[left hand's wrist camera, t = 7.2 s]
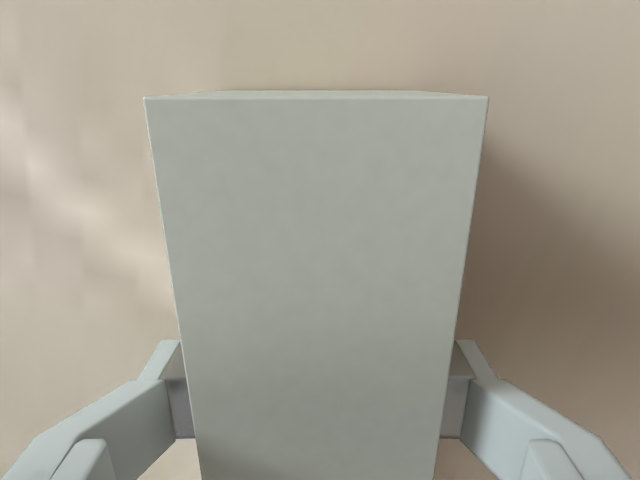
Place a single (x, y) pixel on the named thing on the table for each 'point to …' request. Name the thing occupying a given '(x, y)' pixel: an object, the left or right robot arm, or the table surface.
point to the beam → (316, 272)
